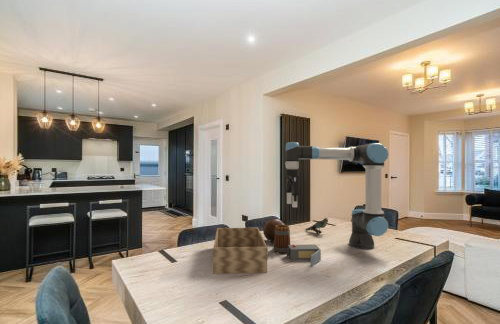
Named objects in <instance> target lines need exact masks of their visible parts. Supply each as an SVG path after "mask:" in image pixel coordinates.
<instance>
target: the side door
mask: <svg viewBox="0 0 500 324" xmlns="http://www.w3.org/2000/svg"><path fill="white" fill-rule="evenodd" d="M321 250H322V249H321V248H320V249H319V250H318V251H317V252H315V253H314V254H312V255H311V260H310V266H312V267H313V266H314V265H315V264H317V263H318V262H319V261H322V251H321Z"/></svg>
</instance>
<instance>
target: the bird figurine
mask: <svg viewBox="0 0 500 324" xmlns="http://www.w3.org/2000/svg"><path fill="white" fill-rule="evenodd" d="M328 222H329V219H328V217H325V218H323V219H322V220H319V221H317V222H315V223H314V224H312V225H311V226H308V227H307V228H304V230H305V231H306V232H307V231H313V232H315V233H316V234H317V235H320V234H322V231H321V230H320V229H321V228H322V229H324V228H325V227H326V226H327V224H328ZM318 229H319V230H318Z"/></svg>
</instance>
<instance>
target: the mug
mask: <svg viewBox="0 0 500 324" xmlns="http://www.w3.org/2000/svg"><path fill="white" fill-rule="evenodd" d="M288 245H291V230H290V226H289V225H287V224H285V223H283V224H282V225H276V226H275V237H274V242H273V248H272V249H273V252H274V253H277V254H281V255H284V254H286V248H288ZM286 255H287V254H286Z"/></svg>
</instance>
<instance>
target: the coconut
mask: <svg viewBox="0 0 500 324" xmlns="http://www.w3.org/2000/svg"><path fill="white" fill-rule="evenodd" d="M282 224H284V223H283V221H281V220H280V219H275V218H272V219H269V220H268V221H266V222H265V224H264V226H263V228H262V229H263V231H262V233H263V235H264V237H265V239H266V240H267V241H269V242H272V243H274V237H275V226H276V225H282Z"/></svg>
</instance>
